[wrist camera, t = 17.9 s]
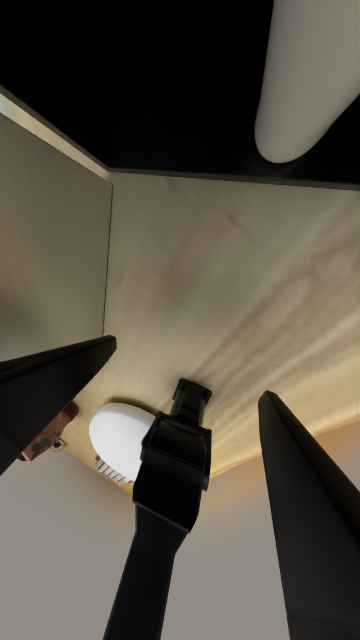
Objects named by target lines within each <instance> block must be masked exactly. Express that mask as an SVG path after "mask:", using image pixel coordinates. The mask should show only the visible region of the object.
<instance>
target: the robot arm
mask: <svg viewBox="0 0 360 640" xmlns="http://www.w3.org/2000/svg"><path fill="white" fill-rule="evenodd" d="M116 348H117V343H116V337H114V336H112V335H107V336H103V337H99V338H95V339H91V340H87V341H83V342H79V343H75V344H71V345H67V346H63V347H59V348H55V349H51V350H47V351H43V352H39V353H35V354H31V355H27V356H23V357H19V358H15V359H11V360H6V361H2V362H0V476H1V475H2V474H3V473H4V472H5V471H6V469H7V468H8V467H9V466H10V465H11V464H12V463H13V462H14V461H15V460H16V459H17V458H18V457H19V456H20V455H21V454H22V452H23V451H24V450H25V449H26V448H27V447H28V446H29V445H30V444H31V443H32V442H33V441H34V440H35V439H36V438H37V437H38V435H39V434H40V433H41V432H42V431H43V430H44V429H45V428H46V427H47V426H48V425H49V424H50V423H51V422H52V421H53V420H54V419H55V417H56V416H57V415H58V414H59V413H60V412H61V411H62V410H63V409H64V408H65V407H66V406H67V405H68V404H69V403H70V402H71V401H72V399H73V398H74V397H75V396H76V395H77V394H78V393H79V392H80V391H81V390H82V389H83V388H84V387H85V386H86V385H87V384H88V383H89V381H90V380H91V379H92V378H93V377H94V376H95V375H96V374H97V373H98V372H99V371H100V370H101V368H102V367H103V366H104V365H105V363H106V362H107V361H108V359H109V358H110V357H111V356H112V354H113V353H114V352H115V350H116ZM211 396H212V392H211V391H209V390H207V389H204V388H202V387H200V386H197V385H195V384H193V383H191V382H188V381H186V380H184V379H180V380H179V383H178V385H177V388H176V391H175V393H174V396H173V400H174V402H173V405H172V408H171V411H170V414H169V415H168V414H165V413H163V412H161V411H160V412H159V413H158V415H157V416H156V417H155V419H154V421H153V423H152V425H151V427H150V428H149V430H148V432H147V433H146V435H145V436H144V437H143V439H142V441H141V446H142V449H141V454H140V461H142V462H141V465H140V468H139V471H138V474H137V477H136V480H135V483H134V486H133V503H135V529H136V530H135V534H134V538H133V541H132V544H131V548H130V551H129V554H128V558H127V561H126V564H125V568H124V571H123V574H122V578H121V581H120V584H119V588H118V591H117V594H116V597H115V601H114V604H113V607H112V610H111V614H110V617H109V620H108V624H107V627H106V630H105V634H104V637H103V640H160V638H161V632H162V627H163V621H164V615H165V609H166V603H167V598H168V592H169V586H170V580H171V574H172V569H173V563H174V557H175V554H176V552H177V550H178V549H179V547H180V545H181V544H182V542H183V540H184V539H185V537H186V535H187V534H188V533H190V531H191V530H192V528H193V526H194V524H195V522H196V520H197V517H198V514H199V507H200V500H201V493H202V490H204V491H207V488H208V483H209V476H210V467H211V437H212V430H210V429H206V428H203V427H202V423H203V415H204V408H205V406H206V404H207V403H208V401H209V399H210V398H211ZM258 412H259V432H260V442H261V448H262V455H263V461H264V468H265V475H266V481H267V488H268V494H269V501H270V508H271V514H272V520H273V528H274V535H275V541H276V548H277V554H278V561H279V568H280V573H281V581H282V588H283V594H284V601H285V607H286V612H287V622H288V629H289V635H290V640H360V492H359V490H358V489H357V488H356V487H355V486H354V484H353V483H352V482H351V481H350V480H349V479H348V477H347V476H346V475H345V474H344V473H343V472H342V470H341V469H340V468H339V467H338V466H337V465H336V463H335V462H334V461H333V460H332V459H331V458H330V456H329V455H328V454H327V453H326V452H325V450H323V448H322V447H321V446H320V445H319V443H318V442H317V441H316V440H315V439H314V438H313V436H312V435H311V434H310V433H309V432H308V431H307V429H306V428H305V427H304V426H303V425H302V424H301V422H300V421H299V420H298V419H297V418H296V417H295V415H294V414H293V413H292V412H291V411H290V409H289V408H288V407H287V406H286V405H285V404H284V402H283V401H282V400H281V399H280V398H279V397H278V395H277V394H276V393H274V392H271V391H268V390H266V391H265V392H264V393H263V395H262V396H261V397H260V399H259V401H258Z"/></svg>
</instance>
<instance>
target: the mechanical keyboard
mask: <svg viewBox="0 0 360 640" xmlns="http://www.w3.org/2000/svg"><path fill="white" fill-rule="evenodd" d="M95 459H96V460H97V463H96V464H95V466H94V469H95V470H98V472H100V473H102V472H103V474H104V475H105V476H107V475H108V477H109V478H110V479H111V478H113V481H114V482H117V483H118V484H119V486H120V485H122V484H124V483H126V482H128V483H130V482H131V481H132V480H130V479H128V478H127V477H125V476H123V475H122V474H120V473H118V472H117V471H115V470H114V469H113V468H111V467H110V466H109V465H108V464H106V463H105V462H104V461H103V460H102V459H101V457H100V456H99V455H98V456H97V457H96V458H95Z"/></svg>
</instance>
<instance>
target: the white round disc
mask: <svg viewBox="0 0 360 640" xmlns="http://www.w3.org/2000/svg"><path fill="white" fill-rule="evenodd" d="M154 419H155V416H154V415H152V414H150V413H148V412H146V411H144V410H142V409H140V408H137V407H135V406H132V405H127V404H123V403H106V404H105V405H104V406H102V407H101V408H100V409H99V410H98V411H97V412H96V413H95V415H94V416H93V418H92V420H91V422H90V428H89V435H90V439H91V441H92V444H93V446H94V448H95V450H96V452H97V453H98V455H99V456H100V457H101V459H102V460H103V461H104V462H105V463H106V464H108V465H109V466H110V467H111V468H113V469H114V470H115V471H117V472H118V473H120V474H122V475H123V476H125V477H127V478H128V479H130V480H132V481H134V482H135V480H136V477H137V474H138V471H139V468H140V465H141V462H142V461H140V454H141V449H142V446H141V441H142V439H143V437H144V436H145V435H146V433H147V432H148V430H149V428H150V427H151V425H152V423H153V421H154Z"/></svg>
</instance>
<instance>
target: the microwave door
mask: <svg viewBox="0 0 360 640" xmlns="http://www.w3.org/2000/svg"><path fill="white" fill-rule="evenodd" d="M111 197H112V184H110V183H109V182H107V181H106V180H104V179H103V178H101V177H100V176H98V175H96V174H95V173H93V172H92V171H90V170H89V169H87V168H86V167H84V166H82V165H81V164H79V163H78V162H76V161H75V160H73V159H72V158H70V157H68V156H67V155H65V154H64V153H62V152H61V151H59V150H58V149H56V148H54V147H53V146H51V145H50V144H48V143H47V142H45V141H44V140H42V139H41V138H39V137H37V136H36V135H34V134H33V133H31V132H30V131H28V130H27V129H25V128H23V127H22V126H20V125H19V124H17V123H16V122H14V121H13V120H11V119H9V118H8V117H6V116H5V115H3V114H2V113H0V362H2V361H6V360H11V359H15V358H19V357H23V356H27V355H31V354H35V353H39V352H43V351H47V350H51V349H55V348H59V347H63V346H67V345H71V344H75V343H79V342H83V341H87V340H91V339H95V338H99V337H102V332H103V317H104V302H105V287H106V272H107V257H108V242H109V227H110V212H111Z"/></svg>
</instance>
